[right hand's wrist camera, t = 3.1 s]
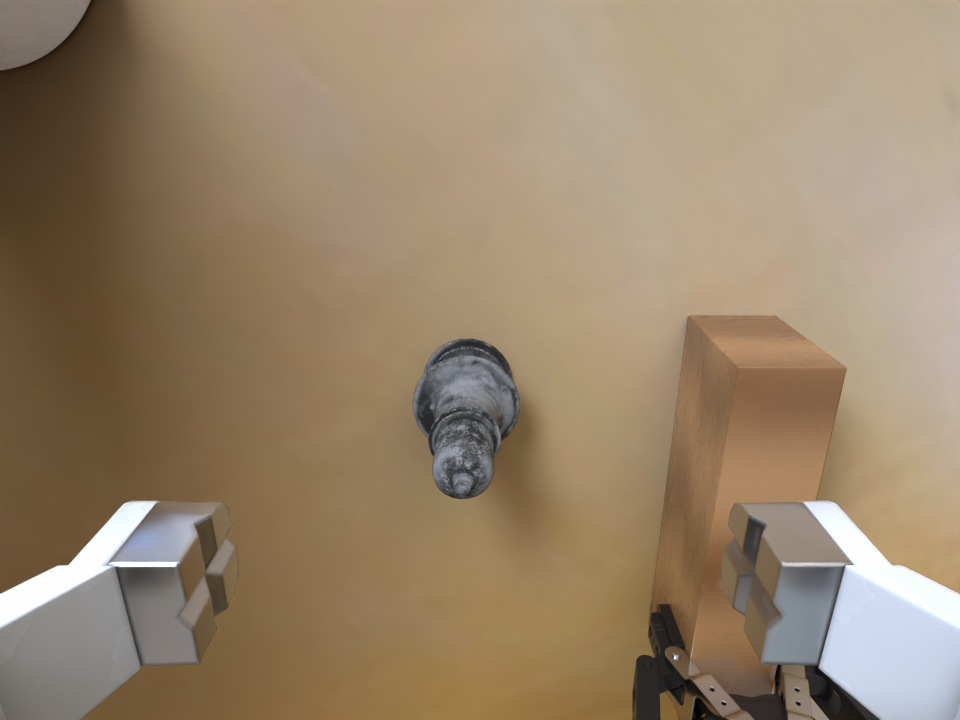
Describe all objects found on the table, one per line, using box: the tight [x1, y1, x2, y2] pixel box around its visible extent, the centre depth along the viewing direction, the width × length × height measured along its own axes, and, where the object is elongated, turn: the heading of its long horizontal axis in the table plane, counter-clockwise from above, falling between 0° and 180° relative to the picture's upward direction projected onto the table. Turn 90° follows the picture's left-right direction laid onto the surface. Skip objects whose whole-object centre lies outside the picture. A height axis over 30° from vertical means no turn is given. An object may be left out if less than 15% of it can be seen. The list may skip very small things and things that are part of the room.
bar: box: [649, 316, 847, 720], centre depth 38 cm, size 23×5×8 cm, turn 0°
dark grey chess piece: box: [413, 339, 520, 499], centre depth 33 cm, size 6×6×12 cm
